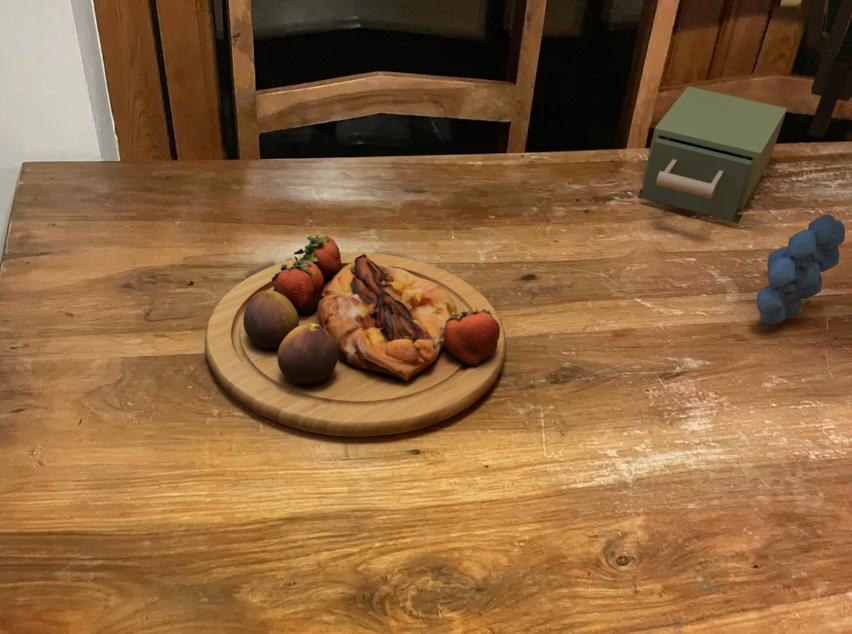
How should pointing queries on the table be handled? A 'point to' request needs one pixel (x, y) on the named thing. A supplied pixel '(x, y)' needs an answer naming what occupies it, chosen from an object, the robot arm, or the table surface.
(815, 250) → the grapes
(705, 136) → the cabinet
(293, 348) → the wooden plate
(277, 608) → the table surface
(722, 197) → the drawer
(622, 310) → the table surface
